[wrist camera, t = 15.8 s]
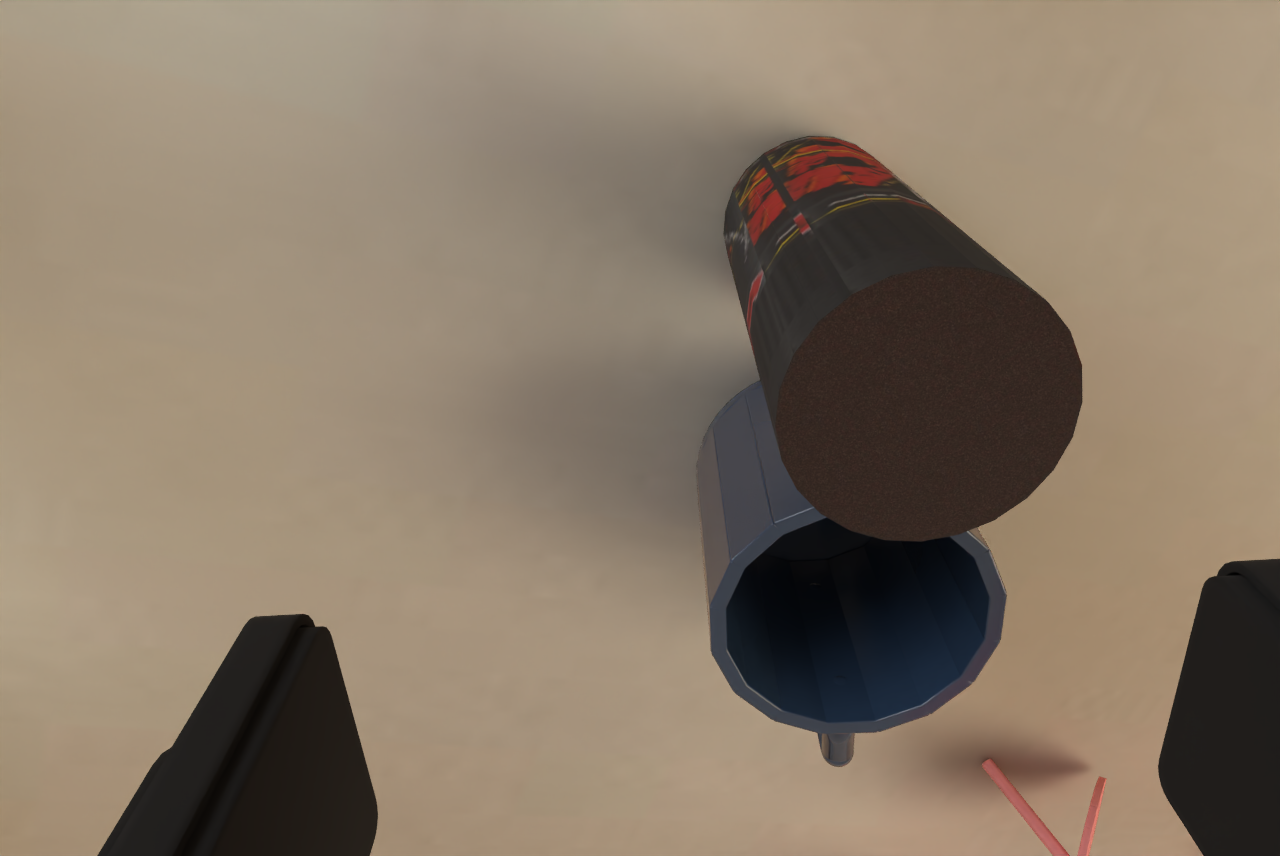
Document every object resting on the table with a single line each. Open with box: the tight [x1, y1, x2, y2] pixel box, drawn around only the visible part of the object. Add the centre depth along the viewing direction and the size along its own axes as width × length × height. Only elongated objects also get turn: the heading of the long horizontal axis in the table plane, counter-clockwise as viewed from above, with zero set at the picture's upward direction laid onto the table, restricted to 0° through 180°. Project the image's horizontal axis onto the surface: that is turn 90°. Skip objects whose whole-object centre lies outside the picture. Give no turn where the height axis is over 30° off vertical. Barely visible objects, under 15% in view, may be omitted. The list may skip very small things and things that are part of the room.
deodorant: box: [724, 136, 1082, 542], centre depth 25 cm, size 6×6×15 cm
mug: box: [697, 380, 1007, 767], centre depth 32 cm, size 12×9×10 cm
